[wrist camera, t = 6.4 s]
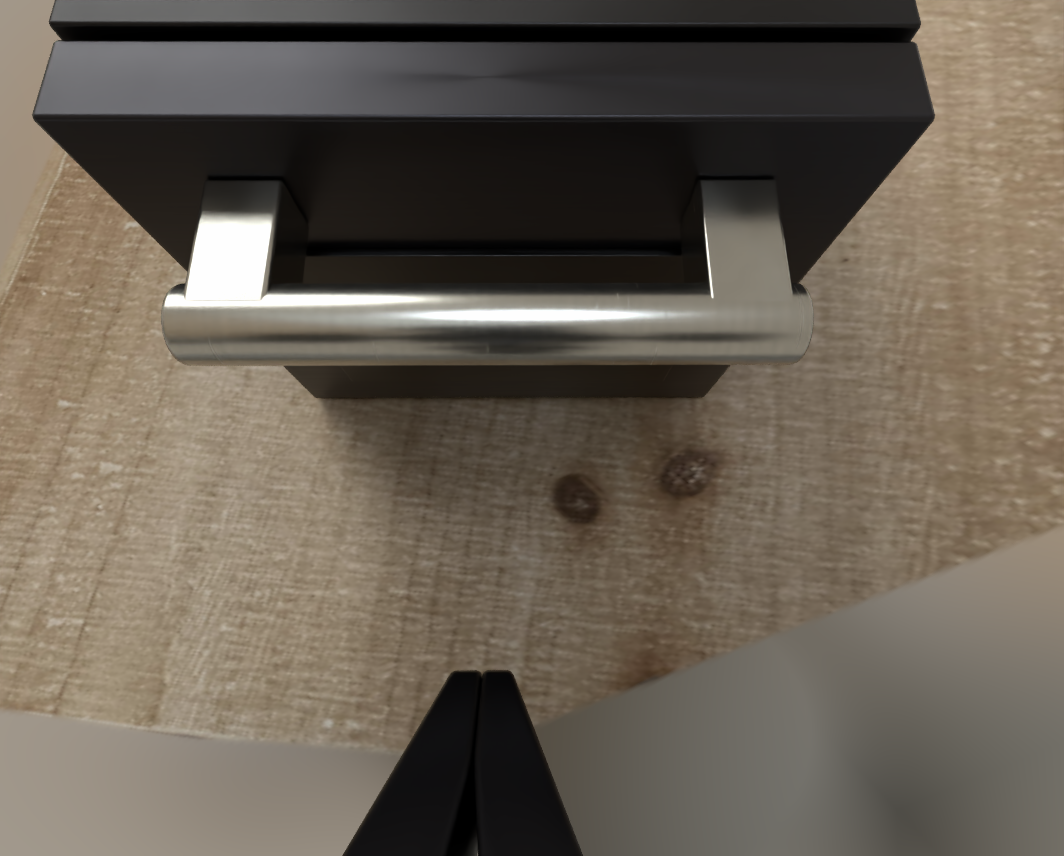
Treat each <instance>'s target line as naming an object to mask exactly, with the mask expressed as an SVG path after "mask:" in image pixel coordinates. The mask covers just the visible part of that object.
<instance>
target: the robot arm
mask: <svg viewBox="0 0 1064 856" xmlns="http://www.w3.org/2000/svg"><path fill="white" fill-rule="evenodd" d="M477 852H478V856H583V855H582V852H581V849H580V847H579V844H578V842H577V839H576V836H575V834H574V831H573V828H572V826H571V824H570V821H569V818H568V815H567V813H566V810H565V808H564V805H563V803H562V800H561V797H560V795H559V792H558V789H557V787H556V784H555V782H554V779H553V777H552V774H551V771H550V769H549V766H548V763H547V761H546V758H545V756H544V753H543V750H542V748H541V745H540V743H539V740H538V737H537V735H536V732H535V729H534V727H533V724H532V722H531V719H530V716H529V714H528V711H527V709H526V706H525V703H524V701H523V698H522V696H521V693H520V690H519V688H518V685H517V683H516V680H515V677H514V675H513V674H512V672H511V671H509V670H487V671H485V672H484V673H483V674H481V672H479V671H477V670H461V671H454V672H452V673H451V674H450V676H449V677H448V678H447V680H446V682H445V684H444V685H443V687H442V689H441V690H440V692H439V694H438V695H437V697H436V699H435V700H434V702H433V704H432V705H431V707H430V709H429V710H428V712H427V714H426V716H425V717H424V719H423V721H422V722H421V724H420V726H419V727H418V729H417V731H416V732H415V734H414V736H413V737H412V739H411V741H410V743H409V744H408V746H407V748H406V749H405V751H404V753H403V754H402V756H401V758H400V760H399V761H398V763H397V764H396V766H395V768H394V770H393V771H392V773H391V775H390V777H389V778H388V780H387V781H386V783H385V785H384V787H383V788H382V790H381V791H380V793H379V795H378V797H377V798H376V800H375V802H374V804H373V805H372V807H371V808H370V810H369V812H368V814H367V815H366V817H365V819H364V820H363V822H362V824H361V825H360V827H359V829H358V830H357V832H356V834H355V835H354V837H353V839H352V840H351V842H350V844H349V845H348V847H347V849H346V850H345V852H344V854H343V856H477Z"/></svg>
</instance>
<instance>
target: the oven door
mask: <svg viewBox="0 0 1064 856" xmlns="http://www.w3.org/2000/svg"><path fill="white" fill-rule="evenodd" d="M32 116H33V119H34V121H35V122H36V123H37V124H38V125H39V126H41V128H42V129H43V130H44V131H46V133H47V134H48V135H50V137H52V139H54V140H55V141H56V142H57V143H58V144H59V145H60V146H61V147H62V148H63V149H64V150H65V151H66V152H67V153H68V154H69V155H70V156H71V157H72V158H73V159H74V160H75V161H76V162H77V163H78V164H79V165H80V166H81V167H82V168H83V169H84V170H85V171H86V172H87V173H88V174H89V175H90V176H91V177H92V178H93V179H94V180H95V181H96V182H97V183H98V184H99V185H100V186H101V187H102V188H103V189H104V190H105V191H106V192H107V193H108V194H109V195H110V196H111V197H112V198H113V199H114V200H115V201H116V202H117V203H118V204H119V205H120V206H121V207H122V208H123V209H124V210H126V211H127V212H128V213H129V214H130V215H131V216H132V217H133V218H134V219H135V220H136V221H137V222H138V223H139V224H140V225H141V226H142V227H143V228H144V229H145V230H146V231H147V232H148V233H149V234H150V235H151V236H152V237H153V238H154V239H155V240H156V241H157V242H158V243H159V244H160V245H161V246H162V247H163V248H164V249H165V250H166V251H167V252H168V253H169V254H170V255H171V256H172V257H173V258H174V259H175V260H176V261H177V262H178V263H179V264H180V265H181V266H182V267H183V268H184V269H185V270H186V271H187V278H186V283H185V284H179V285H176V286H174V287H173V288H171V289H170V290H169V291H168V293H167V294H166V296H165V299H164V301H163V305H162V311H161V324H162V331H163V336H164V339H165V342H166V345H167V347H168V349H169V351H170V352H171V354H172V355H173V356H174V357H175V359H177V360H178V361H179V362H181V363H183V364H185V365H188V366H284V367H285V368H286V369H287V370H288V371H289V372H290V373H291V374H292V375H293V376H294V377H295V378H296V379H297V380H298V381H299V382H300V383H301V384H302V385H303V386H304V387H305V388H306V389H307V390H308V391H309V392H310V393H311V394H312V395H313V396H314V397H316V398H435V397H704V396H705V395H706V394H707V393H708V391H709V390H710V389H711V388H712V387H713V385H714V384H715V383H716V382H717V381H718V379H719V378H720V377H721V376H722V374H723V373H724V372H725V371H726V370H727V368H728V367H729V366H730V365H790V364H794V363H796V362H798V361H799V360H800V359H801V358H802V357H803V356H804V354H805V353H806V351H807V348H808V346H809V343H810V340H811V336H812V330H813V305H812V300H811V297H810V294H809V292H808V290H807V289H806V288H805V287H804V286H803V285H801V284H799V282H800V281H801V280H802V278H803V277H804V276H805V275H806V274H807V272H808V271H809V270H810V269H811V267H812V266H813V265H814V264H815V263H816V261H817V260H818V259H819V258H820V257H821V255H822V254H823V253H824V252H825V251H826V249H827V248H828V247H829V246H830V245H831V243H832V242H833V241H834V240H835V239H836V237H837V236H838V235H839V234H840V233H841V231H842V230H843V229H844V228H845V227H846V225H847V224H848V223H849V222H850V221H851V219H852V218H853V217H854V216H855V215H856V213H857V212H858V211H859V210H860V209H861V207H862V206H863V205H864V204H865V203H866V201H867V200H868V199H869V198H870V197H871V195H872V194H873V193H874V192H875V191H876V189H877V188H878V187H879V186H880V185H881V183H882V182H883V181H884V180H885V179H886V177H887V176H888V175H889V174H890V173H891V171H892V170H893V169H894V168H895V167H896V165H897V164H898V163H899V162H900V160H901V159H902V158H903V157H904V156H905V154H906V153H907V152H908V151H909V150H910V148H911V147H912V146H913V145H914V144H915V142H916V141H917V140H918V139H919V138H920V136H921V135H922V134H923V133H924V132H925V130H926V129H927V128H928V127H929V126H930V124H931V123H932V122H933V120H934V117H935V114H934V110H933V106H932V102H931V98H930V94H929V90H928V86H927V82H926V78H925V74H924V70H923V66H922V62H921V58H920V54H919V50H918V46H917V44H916V43H915V42H857V41H203V40H58V41H56V42H54V44H53V47H52V51H51V54H50V57H49V60H48V64H47V67H46V71H45V74H44V77H43V80H42V84H41V87H40V91H39V94H38V97H37V100H36V104H35V107H34V110H33V114H32Z"/></svg>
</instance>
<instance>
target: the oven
mask: <svg viewBox="0 0 1064 856" xmlns="http://www.w3.org/2000/svg"><path fill="white" fill-rule="evenodd" d="M49 24H50V26H51V28H52V29H53V30H54V31H55V32H56V34H57V35H58V36H59V37H60V38H61V39H62V40H203V41H857V42H910V41H911V40H912V38H913V37H914V35H915V34H916V32H917V31H918V29H919V28H920V25H921V21H920V17H919V13H918V9H917V5H916V1H915V0H55V3H54V6H53V10H52V13H51V16H50V20H49Z"/></svg>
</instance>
